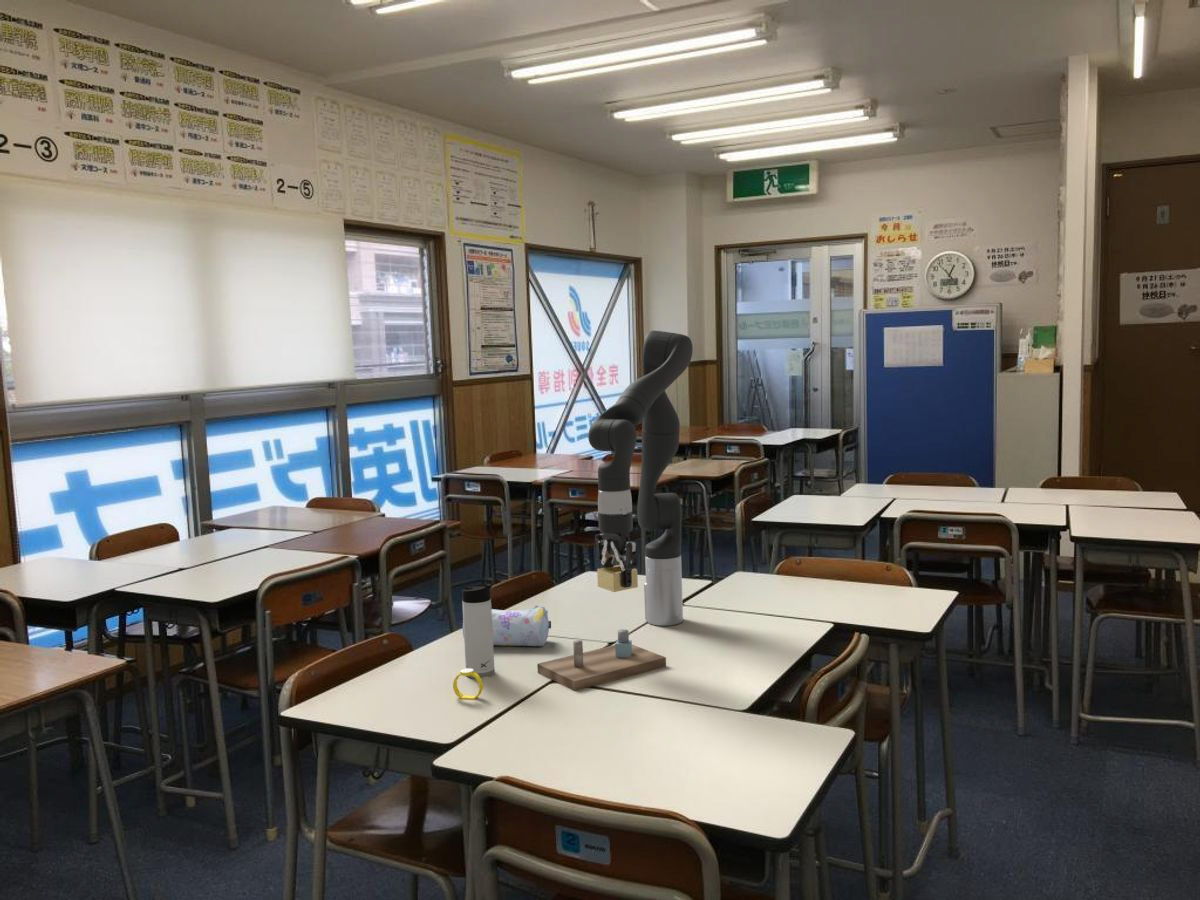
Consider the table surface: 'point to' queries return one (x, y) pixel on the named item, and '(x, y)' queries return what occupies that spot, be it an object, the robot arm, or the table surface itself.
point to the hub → (623, 644)
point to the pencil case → (520, 627)
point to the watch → (465, 673)
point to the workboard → (598, 666)
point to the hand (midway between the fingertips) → (617, 583)
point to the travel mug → (478, 629)
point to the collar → (614, 578)
